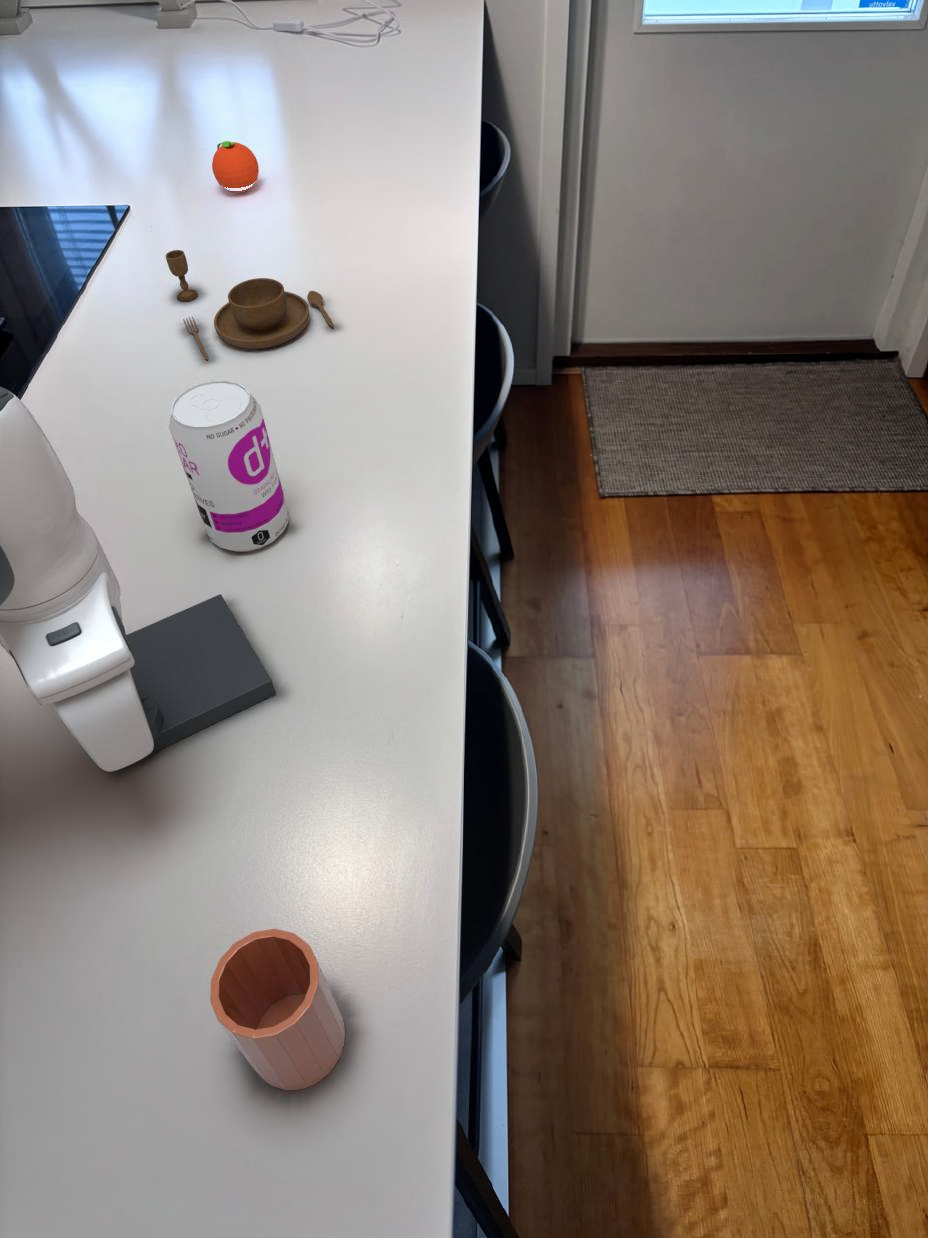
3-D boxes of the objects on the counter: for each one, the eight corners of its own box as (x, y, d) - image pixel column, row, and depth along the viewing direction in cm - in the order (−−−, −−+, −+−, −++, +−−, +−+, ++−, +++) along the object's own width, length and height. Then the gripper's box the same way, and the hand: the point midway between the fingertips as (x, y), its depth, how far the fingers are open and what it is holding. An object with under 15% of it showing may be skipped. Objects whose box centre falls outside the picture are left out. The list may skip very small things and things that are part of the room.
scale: (109, 784, 76) (94, 760, 73) (67, 677, 84) (52, 652, 81) (280, 701, 80) (272, 676, 78) (225, 607, 88) (216, 581, 85)
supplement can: (306, 516, 96) (275, 390, 85) (253, 567, 91) (212, 442, 80) (246, 490, 99) (208, 366, 88) (191, 538, 95) (144, 414, 83)
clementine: (206, 189, 148) (193, 142, 142) (243, 174, 151) (232, 127, 145) (234, 204, 144) (222, 156, 138) (272, 188, 147) (261, 141, 141)
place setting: (206, 370, 114) (193, 327, 110) (170, 295, 127) (157, 253, 122) (343, 331, 118) (335, 287, 114) (295, 261, 131) (287, 220, 126)
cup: (272, 1110, 59) (233, 1060, 52) (236, 1023, 63) (194, 964, 55) (361, 1055, 61) (336, 999, 53) (320, 974, 65) (292, 910, 57)
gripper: (-30, 523, 70) (43, 643, 80) (37, 711, 58) (113, 825, 68) (55, 491, 72) (115, 613, 82) (137, 667, 60) (196, 784, 70)
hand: (115, 711), depth 75 cm, fingers closed, pressing on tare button
